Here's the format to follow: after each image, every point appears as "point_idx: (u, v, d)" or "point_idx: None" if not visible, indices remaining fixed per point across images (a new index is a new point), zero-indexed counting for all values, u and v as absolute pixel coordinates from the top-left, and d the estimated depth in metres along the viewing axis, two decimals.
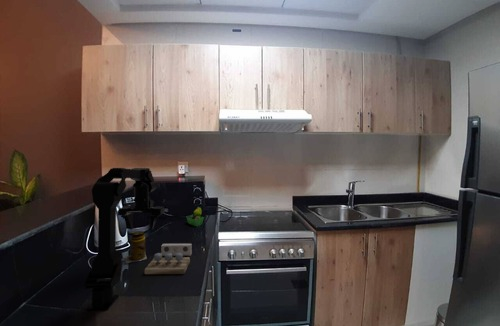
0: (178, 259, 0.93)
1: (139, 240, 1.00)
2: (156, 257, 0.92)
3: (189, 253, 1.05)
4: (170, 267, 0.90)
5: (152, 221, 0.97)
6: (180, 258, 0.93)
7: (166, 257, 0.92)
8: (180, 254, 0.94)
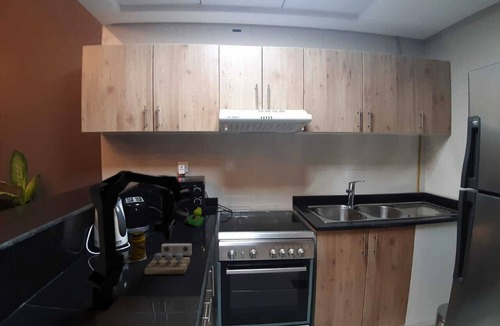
0: (178, 259, 0.93)
1: (139, 240, 1.00)
2: (156, 257, 0.92)
3: (189, 253, 1.05)
4: (170, 267, 0.90)
5: None
6: (180, 258, 0.93)
7: (166, 257, 0.92)
8: (180, 254, 0.94)
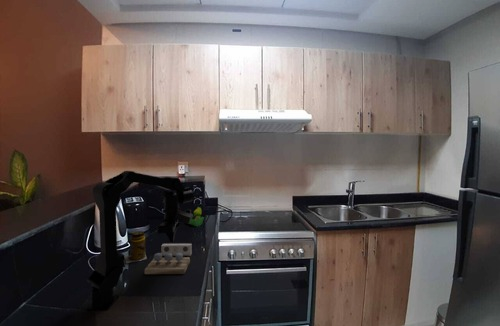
0: (178, 259, 0.93)
1: (139, 240, 1.00)
2: (156, 257, 0.92)
3: (189, 253, 1.05)
4: (170, 267, 0.90)
5: None
6: (180, 258, 0.93)
7: (166, 257, 0.92)
8: (180, 254, 0.94)
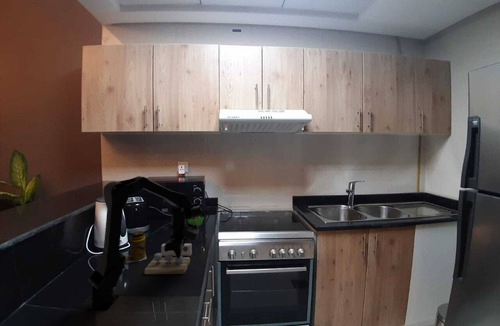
0: (178, 262, 0.93)
1: (139, 240, 1.00)
2: (156, 257, 0.92)
3: (189, 253, 1.05)
4: (170, 267, 0.90)
5: None
6: (180, 261, 0.93)
7: (166, 257, 0.92)
8: (180, 257, 0.94)
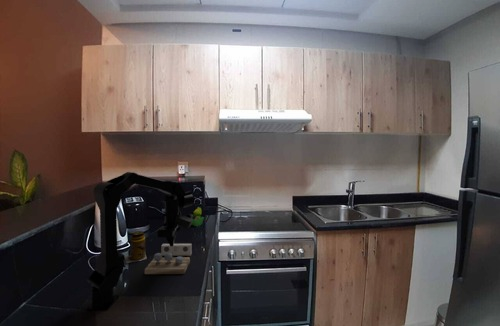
0: (178, 263, 0.93)
1: (139, 240, 1.00)
2: (156, 257, 0.92)
3: (189, 253, 1.05)
4: (170, 267, 0.90)
5: None
6: (180, 262, 0.93)
7: (166, 257, 0.92)
8: (180, 258, 0.94)
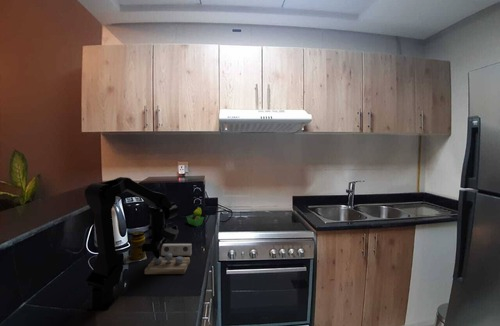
0: (178, 263, 0.93)
1: (139, 240, 1.00)
2: (156, 261, 0.92)
3: (189, 253, 1.05)
4: (170, 267, 0.90)
5: None
6: (180, 262, 0.93)
7: (166, 257, 0.92)
8: (180, 258, 0.94)
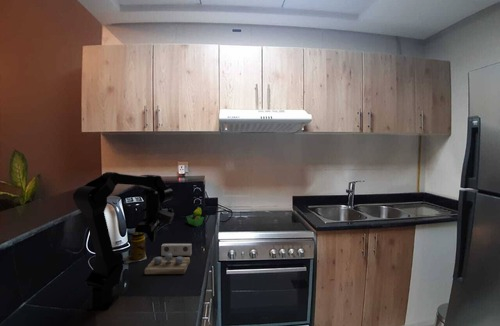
0: (178, 263, 0.93)
1: (139, 240, 1.00)
2: (156, 261, 0.92)
3: (189, 253, 1.05)
4: (170, 267, 0.90)
5: None
6: (180, 262, 0.93)
7: (166, 257, 0.92)
8: (180, 258, 0.94)
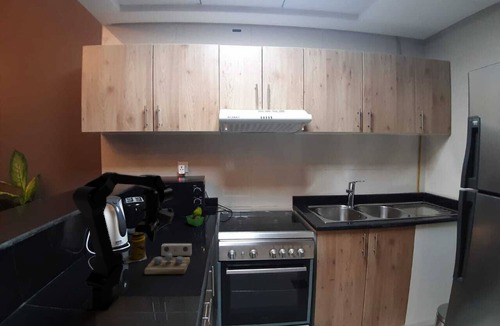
0: (178, 263, 0.93)
1: (139, 240, 1.00)
2: (156, 261, 0.92)
3: (189, 253, 1.05)
4: (170, 267, 0.90)
5: None
6: (180, 262, 0.93)
7: (166, 257, 0.92)
8: (180, 258, 0.94)
